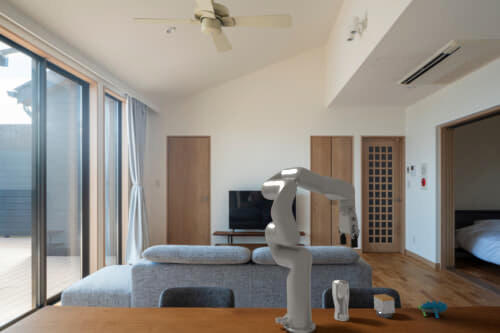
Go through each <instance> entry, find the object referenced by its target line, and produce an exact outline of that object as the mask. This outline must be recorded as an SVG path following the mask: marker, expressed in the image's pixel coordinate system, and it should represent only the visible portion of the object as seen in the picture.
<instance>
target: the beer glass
mask: <svg viewBox="0 0 500 333" xmlns="http://www.w3.org/2000/svg"><path fill="white" fill-rule="evenodd" d="M331 286H332V287H331V289H332V290H331V291H332V292H331V293H332V299H333V304H334V317H333V318H334V319H335V320H336V321H340V322H347V321H349V320H350V316H349V301H350V287H349V282H348V280H347V281H346V280H343V279H334V280H332V285H331Z"/></svg>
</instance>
